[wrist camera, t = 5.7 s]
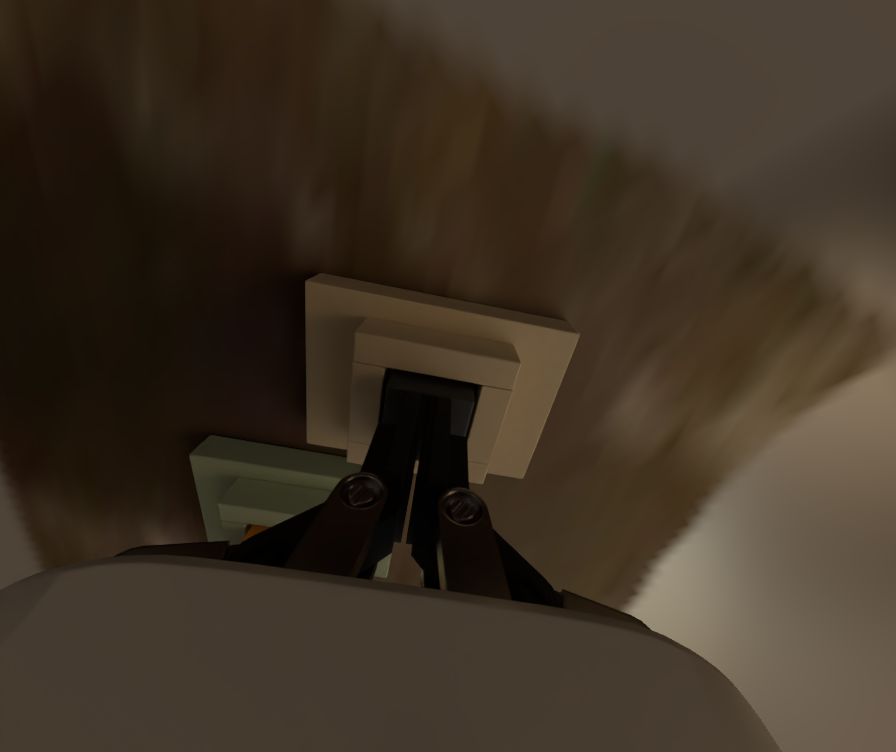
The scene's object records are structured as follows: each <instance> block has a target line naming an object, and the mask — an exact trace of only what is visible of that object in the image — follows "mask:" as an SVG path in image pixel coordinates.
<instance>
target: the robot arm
mask: <svg viewBox="0 0 896 752" xmlns="http://www.w3.org/2000/svg"><path fill="white" fill-rule="evenodd" d="M425 403H426V398H422V397H421V393H416V392H410V391H407V392H406V396H405V399H404V403H403V406H402V410H401V413H400V417H399V420H398V424H397V425H395V424H389V423H383V422H379V423H378V425H377V427H376V430H375V433H374V435H373V438H372V441H371V444H370V446H369V449H368V452H367V454H366V457H365V460H364V462H363V465H362V468H361V470H360V472H356V473H353V474H349V475H347V476H346V477H344V478H342V479H341V480H340V481H339V482H338V483H337V485H336V486H335V488H334V489H333V491H332V492H331V494H330V495H329V497H328V498H327V500H326V501H325V502H323V503H321V504H319V505H317V506H315V507H313V508H310V509H308V510H306V511H304V512H302V513H300V514H298V515H296V516H293V517H291V518H289V519H287V520H285V521H283V522H281V523H279V524H276V525H274V526H272V527H270V528H268V529H266V530H264V531H262V532H259V533H257V534H255V535H253V536H251V537H249V538H248V539H246V540H244V541H243V542H241V543H240V544H235V545H231V544H230V540H229V541H213V542H198V543H182V544H166V545H151V546H141V547H136V548H131V549H129V550H126V551H124V552H122V553H119V554H117V555H115V556H114V557H107V558H100V559H95V560H89V561H84V562H79V563H73V564H69V565H65V566H61V567H57V568H54V569H50V570H47V571H44V572H41V573H38V574H35V575H32V576H30V577H27V578H25V579H22V580H20V581H18V582H15V583H13V584H11V585H9V586H8V587H6V588H4V589H2V590H0V752H782V751H781V750H780V748H779V746H778V745H777V743H776V742H775V740H774V739H773V737H772V736H771V735H770V733H769V731H768V730H767V729H766V727H765V725H764V724H763V723H762V721H761V719H760V718H759V717H758V715H757V714H756V713H755V711H754V710H753V708H752V707H751V705H750V704H749V703H748V702H747V700H746V699H745V698H744V697H743V695H742V694H741V693H740V691H739V690H738V689H737V688H736V687H735V686H734V684H733V683H732V682H731V681H730V680H729V679H728V678H727V677H726V676H725V675H724V674H722V673H721V672H720V671H719V670H718V669H717V668H716V667H714V666H713V665H712V664H710V663H709V662H708V661H706V660H705V659H704V658H702V657H701V656H699V655H698V654H696V653H695V652H693V651H691V650H690V649H688V648H686V647H684V646H683V645H681V644H679V643H677V642H675V641H673V640H672V639H670V638H668V637H666V636H664V635H662V634H659V633H657V632H654V631H652V630H651V629H650V628H649V627H647V626H646V625H645V624H644V623H643V622H642V621H641V620H639V619H637V618H635V617H633V616H632V615H629V614H626V613H624V612H621V611H619V610H616V609H613V608H611V607H608V606H606V605H603V604H600V603H598V602H595V601H593V600H590V599H587V598H585V597H582V596H580V595H577V594H574V593H572V592H569V591H567V590H564V589H562V591H561V593H560V592H558V591H555V590H554V589H553V587H552V586H551V585H550V584H549V583H548V581H547V580H546V579H545V578H544V577H543V576H542V575H541V574H540V573H539V572H538V571H537V570H535V569H534V568H533V567H532V566H531V565H530V564H529V563H528V562H527V561H526V560H525V559H524V558H523V557H522V556H521V555H520V554H519V553H518V552H517V551H516V550H515V549H514V548H513V547H511V546H510V545H509V544H508V543H507V542H506V541H505V540H504V539H503V538H502V537H501V536H500V535H499V534H498V533H497V532H496V531H495V530H494V529H493V527H492V523H491V520H490V516H489V512H488V508H487V506H486V504H485V502H484V500H483V499H482V498H481V497H480V496H479V495H478V494H476V493H475V492H474V491H471V490H469V473H468V445H467V437H465V436H459V435H453V434H450V430H451V404H452V399H449V398H444V397H438V396H437V399H436V400H433V399H431V401H430V406H429V411H428V416H427V422H426V427H425V432H424V437H423V442H422V447H421V453H420V458H419V464H418V470H417V476H416V483H415V489H414V496H413V502H412V508H411V515H410V521H409V527H408V534H407V540H406V544H412V552H411V556H412V557H413V558H414V559H415V561H416V562H417V563H418V565H419V566H420V567H421V574H420V582H421V587H416V586H409V585H402V584H395V583H388V582H381V581H374V580H373V577H374V575H375V572H376V569H377V564H378V562H379V561H381V560H382V559H384V558H385V557H387V556H388V555H390V554H391V553H392V548H393V543H394V542H398V543H401V538H402V532H403V527H404V522H405V516H406V511H407V506H408V500H409V495H410V490H411V484H412V479H413V473H414V468H415V462H416V456H417V450H418V444H419V438H420V433H421V427H422V421H423V415H424V409H425Z"/></svg>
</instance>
